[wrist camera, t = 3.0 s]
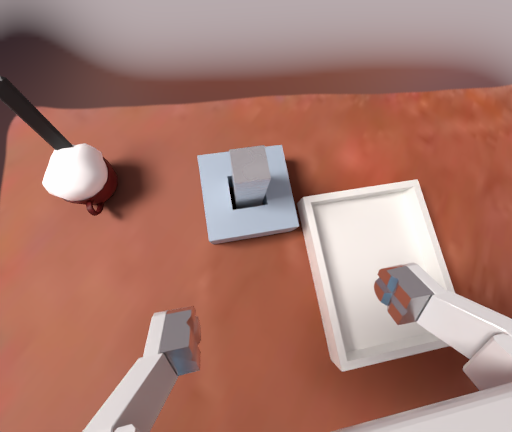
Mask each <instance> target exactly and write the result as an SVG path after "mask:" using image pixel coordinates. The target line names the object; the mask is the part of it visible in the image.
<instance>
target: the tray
mask: <svg viewBox="0 0 512 432" xmlns="http://www.w3.org/2000/svg"><path fill="white" fill-rule="evenodd" d="M297 206H298V211H299V215H300V220H301V225H302V229H303V234H304V238H305V243H306V248H307V252H308V257H309V262H310V266H311V271H312V275H313V280H314V285H315V289H316V294H317V298H318V303H319V308H320V312H321V317H322V322H323V326H324V331H325V335H326V340H327V345H328V349H329V354H330V358H331V360H332V361H333V363H334V364H335V365H336V366H337V367H338V368H339V369H340V370H341V371H342V372H343V371H347V370H351V369H356V368H360V367H364V366H368V365H372V364H377V363H381V362H385V361H389V360H393V359H397V358H402V357H406V356H410V355H414V354H418V353H423V352H427V351H431V350H435V349H439V348H443V347H448V346H450V345H448V344H447V343H445V342H444V341H442V340H441V339H439V338H438V337H436V336H435V335H434V334H432V333H431V332H429V331H428V330H426V329H425V328H423V327H422V326H420V325H419V324H417V323H416V322H412V323H407V324H402V325H397V324H396V322H395V321H394V320H393V318H392V317H391V315H390V314H389V313H388V311H387V306H386V305H385V304H383V303H381V302H380V301H379V299H378V298H377V296H376V294H375V290H374V284H375V281H376V280H377V279H378V278H379V276H378V275H377V274H378V272H379V270H380V269H382V268H387V267H392V266H396V265H403V264H407V263H413V262H414V263H416V264H418V265H419V266H420V267H421V268H422V269H423V270H424V271H425V272H427V273H428V274H429V275H430V276H431V277H432V278H433V279H434V280H435V281H436V282H437V283H438V284H439V285H440V286H442V287H443V288H444V289H445V290H446V291H447V292H448V291H451V292H453V293H455V291H454V288H453V285H452V282H451V279H450V276H449V273H448V270H447V267H446V264H445V261H444V258H443V255H442V252H441V249H440V246H439V243H438V240H437V237H436V234H435V231H434V228H433V225H432V222H431V219H430V216H429V213H428V209H427V206H426V203H425V200H424V197H423V194H422V191H421V188H420V185H419V182H418V179H417V180H410V181H404V182H397V183H391V184H384V185H378V186H371V187H365V188H358V189H352V190H345V191H339V192H332V193H326V194H319V195H313V196H306V197H303V198H302V199H301V200H300V201H299V202H298V203H297Z"/></svg>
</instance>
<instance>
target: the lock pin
mask: <svg viewBox="0 0 512 432" xmlns="http://www.w3.org/2000/svg"><path fill="white" fill-rule="evenodd" d="M229 151H230V162H231V172H232V182H233V192H234V198H235V204H236V209H243V208H249V207H256V206H261V205H262V202H263V199H264V196H265V193H266V191H267V188H268V185H269V182H270V180H271V176H270V171H269V166H268V161H267V156H266V151H265V146H264V145H263V146H255V147H247V148H239V149H231V150H229Z"/></svg>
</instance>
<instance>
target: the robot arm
mask: <svg viewBox="0 0 512 432" xmlns="http://www.w3.org/2000/svg"><path fill="white" fill-rule="evenodd" d="M377 275H378V276H379V278H378V279H377V280H376V281H375V284H374V290H375V294H376V296H377V298H378V299H379V301H380V302H381V303H383V304H385V305H386V306H387V311H388V313H389V314H390V315H391V317H392V318H393V320H394V321H395V322H396V324H397V325H402V324H407V323H412V322H416V323H417V324H419V325H420V326H422V327H423V328H425V329H426V330H428V331H429V332H431V333H432V334H434V335H435V336H436V337H438V338H439V339H441V340H442V341H444V342H445V343H447V344H448V345H450V346H451V347H453V348H454V349H455V350H457V351H458V352H460V353H461V354H463V355H464V356H466V357H467V358H469V359H470V360H469V361H468V362H467V363H466V364H465V365H464V366H463V371H464V372H465V373H466V375H467V376H468V377H469V378H470V380H471V381H472V382H473V383H474V384H475V386H476V387H477V388H478V389H479V390H480V391H478V392H474V393H471V394H467V395H463V396H460V397H456V398H452V399H449V400H445V401H441V402H438V403H434V404H430V405H427V406H423V407H419V408H416V409H412V410H409V411H405V412H401V413H398V414H394V415H390V416H387V417H383V418H379V419H376V420H372V421H368V422H365V423H361V424H357V425H354V426H350V427H346V428H343V429H339V430H335V431H332V432H512V319H511V318H509V317H506V316H504V315H502V314H500V313H497V312H495V311H493V310H491V309H489V308H486V307H484V306H482V305H480V304H478V303H475V302H473V301H471V300H469V299H467V298H464V297H462V296H460V295H458V294H456V293H453V292H451V291H448V292H447V291H446V290H445V289H444V288H443V287H442V286H440V285H439V284H438V283H437V282H436V281H435V280H434V279H433V278H432V277H431V276H430V275H429V274H428V273H427V272H425V271H424V270H423V269H422V268H421V267H420V266H419V265H418V264H416V263H414V262H413V263H407V264H403V265H396V266H392V267H387V268H382V269H380V270H379V272H378V274H377ZM195 314H196V310H195V308H194V306H190V307H185V308H179V309H173V310H167V311H162V312H157V313H154V315H153V316H152V319H151V324H150V328H149V333H148V337H147V342H146V346H145V350H144V355H143V357H141V358H139V359H138V360H137V361H136V363H135V364H134V365H133V366H132V368H131V369H130V370H129V372H128V373H127V374H126V376H125V377H124V378H123V379H122V381H121V382H120V383H119V385H118V386H117V387H116V389H115V390H114V391H113V392H112V394H111V395H110V396H109V398H108V399H107V400H106V402H105V403H104V404H103V406H102V407H101V408H100V409H99V411H98V412H97V413H96V415H95V416H94V417H93V419H92V420H91V421H90V422H89V424H88V425H87V426H86V428H85V429H84V430H83V432H150V430H151V428H152V426H153V424H154V423H155V421H156V419H157V417H158V415H159V413H160V411H161V409H162V407H163V405H164V403H165V401H166V399H167V398H168V396H169V394H170V392H171V390H172V388H173V386H174V384H175V382H176V380H177V378H178V376H179V375H183V374H187V373H191V372H195V371H199V370H200V354H201V352H200V349H199V347H198V344H199V343H200V341H201V328H200V322H199V318H198V317H197V316H195Z"/></svg>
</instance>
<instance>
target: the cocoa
mask: <svg viewBox="0 0 512 432" xmlns="http://www.w3.org/2000/svg"><path fill="white" fill-rule="evenodd" d="M0 99H1V100H2V101H3V102H4V103H5V104H6V105H7V106H8V107H9V108H10V109H11V110H13V111H14V112H15V113H16V114H17V115H18V116H19V117H20V118H21V119H22V120H23V121H25V122H26V123H27V124H28V125H29V126H30V127H31V128H32V129H33V130H34V131H35V132H37V133H38V134H39V135H40V136H41V137H42V138H43V139H44V140H45V141H46V142H47V143H49V144H50V145H51V146H52V147H53V148H54V149H55V150H54V152H53V154H52V156H51V157H50V161H49V165H48V168H47V170H46V172H45V175H44V178H43V182H42V184H43V186H44V187H45V188H46V190H47V191H48V192H49V193H50V194H52V195H55V196H58V197H60V198H62V199H64V200H65V201H68V202H71V203H77V204H86V207H87V210H88V212H89V213H90V214H92V215H94V216H95V215H98V214H100V213H101V212H102V210H103V206H104V201H106V200H107V199H108V198H109V197H111V196H112V195H113V193H114V191H115V189H116V187H117V175H116V173H115V172H114V170H113V168H112V166H111V165H110V163H109V162H108V161H107V160H106V159H105V158H104V157H103V156H102V152H100V151H99V150H97V149H96V148H94V147H92V146H90V145H88V144H79V145H72V144H71V143H70V142H69V141H68V140H67V139H66V138H65V137H64V136H63V135H62V134H61V133H60V132H59V131H58V130H57V129H56V128H55V127H54V126H53V125H52V124H51V123H50V122H49V121H48V120H47V119H46V118H45V117H44V116H43V115H42V114H41V113H40V112H39V111H38V110H37V109H36V108H35V107H34V106H33V105H32V104H31V103H30V102H29V101H28V100H27V99H26V98H25V97H24V96H23V95H22V94H21V93H20V92H19V91H18V90H17V88H16V87H14V86H13V85H12V83H11V82H10V81H9V80H8V79H7V78H5V77H2V76H0ZM95 204H97V205H98V207H97V210H96V211H95V210H94V208H93V205H95Z"/></svg>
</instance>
